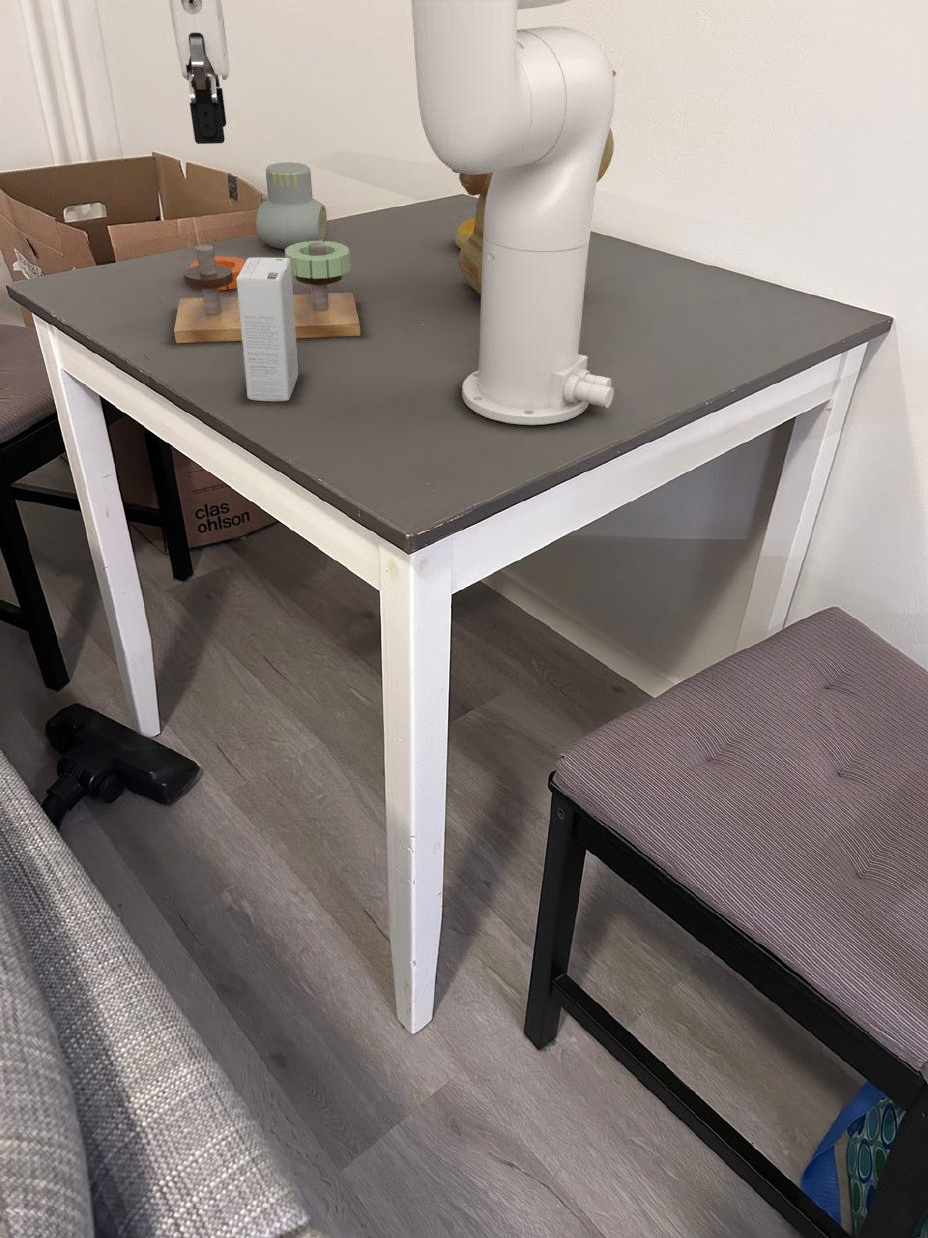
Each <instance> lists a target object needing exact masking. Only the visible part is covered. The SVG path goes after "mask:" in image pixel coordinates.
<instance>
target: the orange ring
mask: <svg viewBox="0 0 928 1238" xmlns="http://www.w3.org/2000/svg"><path fill="white" fill-rule="evenodd" d="M214 258H215V265H222V266H226V267H229V268H230V269H231V270H232V274H233V282H232V283H231V284H229V285H227V286H224V287H220V288H219V291H228V290H229V291H231V290H234V289H237V281H236V278H237V277H238V275H239V273H240V271H241V270H242V268H243V266H244V264H245V262H246V260H245V259H243V258H240V257H234V256H225V255H224V256H223V255H222V256H214ZM194 266H199V265H198V259H196V260H195V261H193V262H192V263H190V267H189V268H191V267H194Z"/></svg>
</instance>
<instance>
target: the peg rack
mask: <svg viewBox="0 0 928 1238" xmlns="http://www.w3.org/2000/svg"><path fill="white" fill-rule="evenodd" d="M195 251H196V256H197V257H196V258H197V260H198V265H199V266H194V267H191V268H190V267H189V268H186V269H184V271H183V279H184V284H185V285H186V286H188V287H190V288H193V289H200V290H201V293H202V297H187V298H186V297H185V298H179V299H178V305H177V310H176V316H175V322H174V328H173V334H174V339H175V343H176V344H194V343H195V344H196V343H220V342H221V343H222V342H242V336H241V326H240V315H239V302H238V296H220V290H219V288H220V287H224V286H227V285H229V284H231V283H232V282H233V274H232V270H231V269H230V268H229V267H226V266H222V265H215V258H214V257H215V251H214V247H213V246H212V245H208V244H202V245H198V246H196V248H195ZM309 255H311V256H320V255H326V253H325V244H324V243H320V242H313V243H310V244H309ZM294 278H295V280H296V281H297V282H299V283H302V284H304V285H310V286H311V293H303V294H302V293H301V294H293V304H294V318H295V332H296V339H312V338H313V339H317V338H339V337H340V338H342V337H343V338H344V337H360V336H361V323H360V319H359V314H358V310H357V306H356V301H355V297H354V294H353V292H332V293H331V292H329V287H328V285H331V284H336V283H338V282H340V281H341V280H343V274H342V275H341V276H336V277H332V278H329V277H327V278H321V279H313V278H303V277H298V276H294Z"/></svg>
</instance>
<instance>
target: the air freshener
mask: <svg viewBox="0 0 928 1238" xmlns="http://www.w3.org/2000/svg"><path fill="white" fill-rule="evenodd" d="M311 172H312V171H311V168H310V166H309V165H307V164H304V163H299V162H277V163H272V164H269V165H268V166H267V167H266V168H265V178H266V190H267V192H266V193H267V199H266V200H264V201H262V202H261V203H260V204H259V206H258V208H257V213H256V219H255V224H256V225H255V226H256V227H255V229H256V233H257V238H258V239H260V241H261V242H263V243H265V244H266V245H268V246H270V247H272V248H274V249H278V250H284V251H285V249H286V248H287V247H289V246H291V245H292V244H293V245H294V244H296V243H301V242H308V243H309V241H323V242H324V241H325V237H326V234H327V225H328V221H327V220H328V219H327V218H328V216H327V210H326V209H327V208H326V206H325V205H324V204H323V203H322V202H321V201H318V200H317V199H315V198H314V197H313V186H312V185H313V184H312V173H311Z"/></svg>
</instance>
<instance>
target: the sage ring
mask: <svg viewBox="0 0 928 1238" xmlns="http://www.w3.org/2000/svg"><path fill="white" fill-rule="evenodd" d="M313 242H320V243H324V244H325V253H326V255H320V256H311V255H309V244H310V243H313ZM284 256H285V257H284V258H289V259H290V260H291V272H292V276H294V277H295V276H298V277H303V278H313V279H321V278H327V277H329V278H332V277H336V276H341V275H342V276H343V275H345V274H347V273H348V272H350V270H351V252H350V248H349V247H348V245H346V244H343V243H341V242H337V241H328V240H323V241H309V243H308V242H301V243H296V244H294V245H293V244H292V245H291V246H289V247H287V248H286V249H285V250H284Z"/></svg>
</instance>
